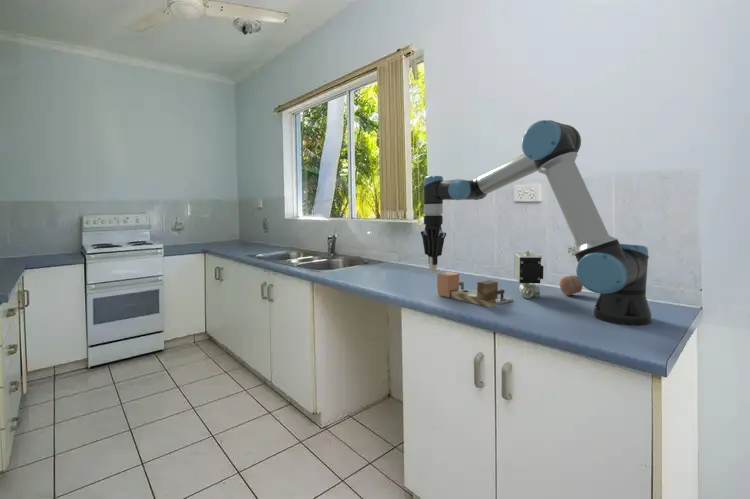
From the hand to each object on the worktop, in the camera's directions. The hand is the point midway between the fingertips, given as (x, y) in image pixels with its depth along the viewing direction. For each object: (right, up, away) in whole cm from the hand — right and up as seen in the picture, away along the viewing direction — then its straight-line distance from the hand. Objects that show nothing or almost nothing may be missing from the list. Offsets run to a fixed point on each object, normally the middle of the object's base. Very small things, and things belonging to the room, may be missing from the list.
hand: (432, 272), depth 163 cm
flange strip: (+17, -9, -10) cm, 22 cm away
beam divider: (+13, -9, -13) cm, 20 cm away
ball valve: (+35, -9, -10) cm, 38 cm away
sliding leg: (+7, -8, -5) cm, 12 cm away
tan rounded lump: (+52, -9, -9) cm, 54 cm away
